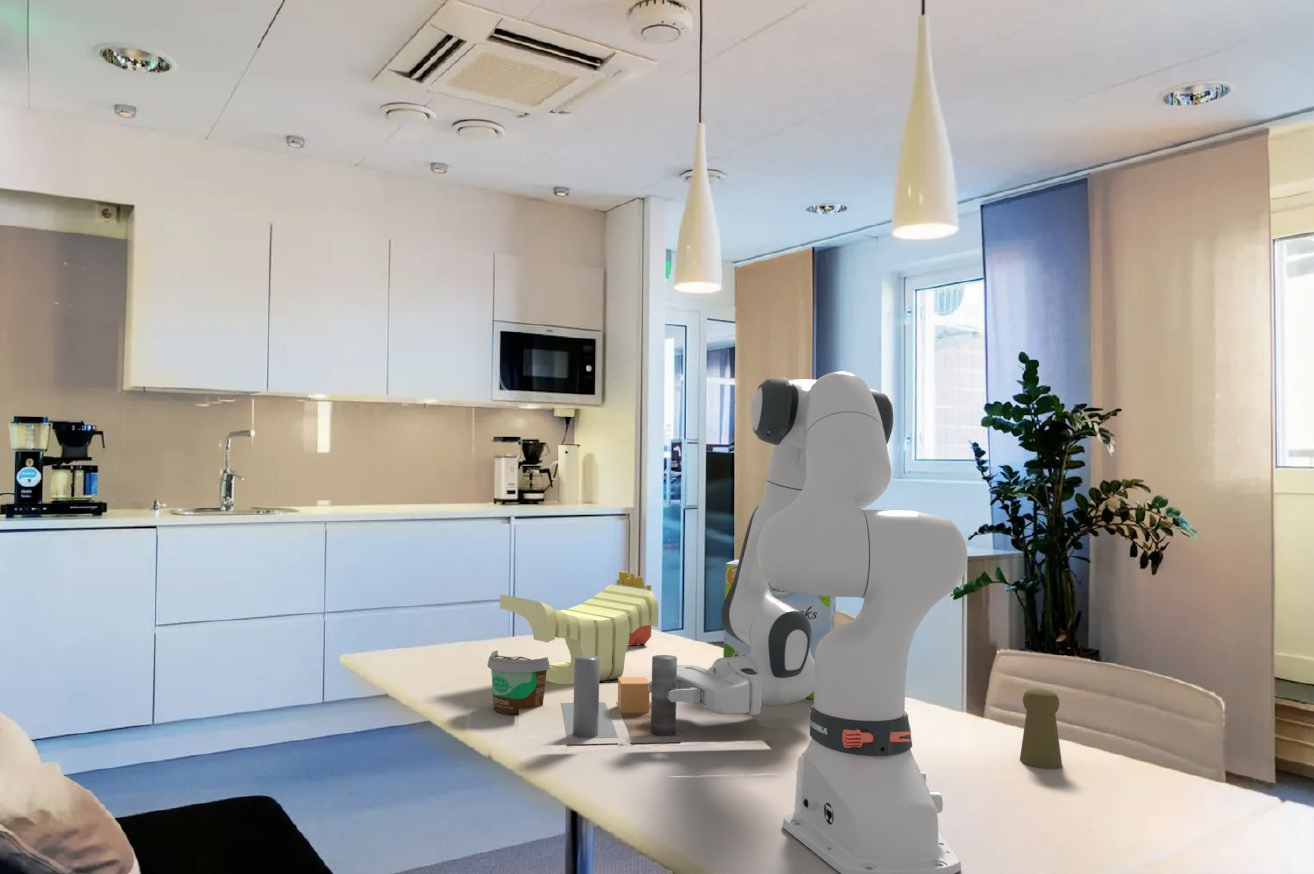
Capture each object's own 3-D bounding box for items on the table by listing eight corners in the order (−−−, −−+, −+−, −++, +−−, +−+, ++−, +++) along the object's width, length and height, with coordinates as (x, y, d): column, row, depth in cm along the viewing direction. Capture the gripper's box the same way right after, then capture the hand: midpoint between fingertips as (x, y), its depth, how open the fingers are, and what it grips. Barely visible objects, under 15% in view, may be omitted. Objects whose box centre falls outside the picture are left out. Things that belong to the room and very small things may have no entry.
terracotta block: (649, 712, 157) (649, 683, 158) (620, 712, 157) (621, 683, 157) (645, 705, 162) (645, 677, 162) (617, 705, 162) (618, 677, 162)
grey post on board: (680, 743, 143) (682, 659, 144) (630, 744, 142) (632, 660, 143) (659, 708, 165) (661, 635, 166) (616, 708, 164) (617, 635, 165)
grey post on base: (617, 744, 142) (619, 660, 142) (566, 745, 141) (569, 660, 141) (605, 708, 164) (606, 635, 164) (560, 709, 162) (562, 635, 163)
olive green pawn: (1066, 770, 135) (1066, 695, 135) (1023, 766, 136) (1024, 693, 137) (1057, 757, 141) (1057, 686, 141) (1016, 754, 142) (1016, 684, 143)
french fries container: (628, 639, 236) (629, 570, 236) (652, 646, 227) (653, 574, 227) (613, 640, 233) (615, 570, 234) (637, 647, 224) (638, 574, 225)
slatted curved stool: (545, 696, 173) (548, 603, 173) (497, 681, 184) (500, 594, 185) (656, 674, 194) (658, 591, 195) (607, 662, 205) (609, 584, 206)
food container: (471, 712, 160) (473, 655, 161) (493, 704, 166) (494, 650, 166) (528, 722, 155) (529, 663, 155) (548, 714, 160) (550, 657, 160)
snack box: (720, 691, 180) (722, 562, 181) (731, 682, 188) (733, 558, 190) (829, 702, 173) (831, 567, 174) (835, 692, 181) (837, 564, 183)
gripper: (699, 653, 161) (630, 659, 154) (766, 677, 143) (691, 685, 136) (698, 689, 160) (629, 696, 154) (765, 717, 143) (690, 727, 136)
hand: (659, 691), depth 145 cm, fingers open, 5 cm apart
